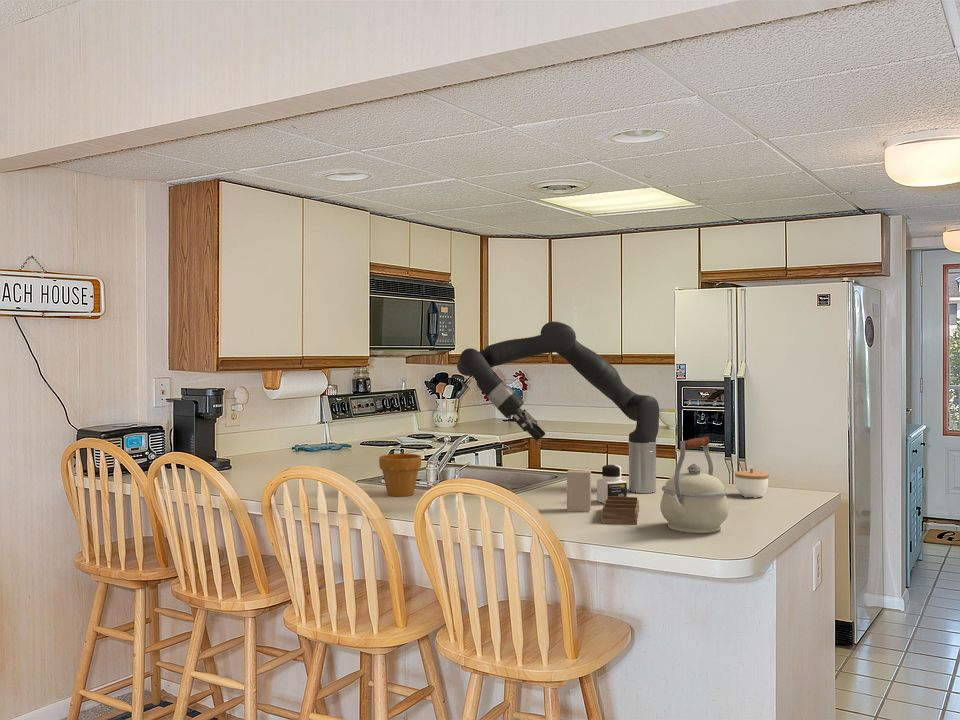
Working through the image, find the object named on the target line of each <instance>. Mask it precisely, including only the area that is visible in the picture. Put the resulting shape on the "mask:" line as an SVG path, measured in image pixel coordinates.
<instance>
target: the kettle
mask: <svg viewBox="0 0 960 720" xmlns="http://www.w3.org/2000/svg"><path fill="white" fill-rule="evenodd" d="M709 444H710V438H709V436H702V437H696V438H690V439H687V440H680V442H679V444H678V447H679V449H680V451H679V453H680V454H679V458H678V461H677V463H676V467H675V470H674V474H673V476H671V477H669V478H668V480H666V482H665V485H664V486H662V487H661V490H662V491H663V492H662V493H663V494H662V497H661V500H660V507H659V508H660V512H661V516H662V517H663V518H664V519H665V520H666V522H667V523H668V524H667V526H668V528H669V529H670V530H672V531H676V532H680V533H687V534H713V533H716V532H719V531H720V530H721V525H722V524H723V523H724V522H725V521H726V520H727V518H728V516H729V511H730V508H729V507H730V506H729V502H728V498H727V496H726V494H728V489H726V488H725V486H724V484H723V482H722V481H721V480H720V479H719V478H717V477H715V476H714V464H713V460H712V456H711V455H710V451H709ZM701 447H702V448H703V450H702V451H703V454H704V456H705V458H706V461H707V465H708V466H707V467H708V472H707V473H708V474H707V473H702V472H701V471H702V468H701V466H700V465H698V464H697V463H692V464H690V465H689V466H688V467H687V468H686V470H687V472H681V470H682V466H683V463H684V461H685V457H686V451H688V450H692V449H696V448H701Z"/></svg>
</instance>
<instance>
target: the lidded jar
mask: <svg viewBox="0 0 960 720" xmlns="http://www.w3.org/2000/svg"><path fill="white" fill-rule="evenodd" d="M734 477H735V478H734V479H735V486H736V490H737V491H738V492H739V494H740V495H741V496H742V497H743V496H744V497H743V498H747V497H760V498H762V496H763V495H764V494H765V493H766V491H767V490H768V485H769V473H767V472H764V471H757V470H754V467H751V468H749V470H739V471H736V472H735V473H734Z"/></svg>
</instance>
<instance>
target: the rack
mask: <svg viewBox="0 0 960 720" xmlns="http://www.w3.org/2000/svg"><path fill="white" fill-rule="evenodd" d="M639 511H640V500H638V496H637V497H636V496H627V497H616V496H607V499H606V500H605V503H604V504H603V506H602V508H601V512H600V523H601V522H605V523H604V524H617V523H620V525H621V524H622V525H637V524H638V520H637V519H638V518H639V514H640V513H639ZM638 513H639V514H638Z"/></svg>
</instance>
